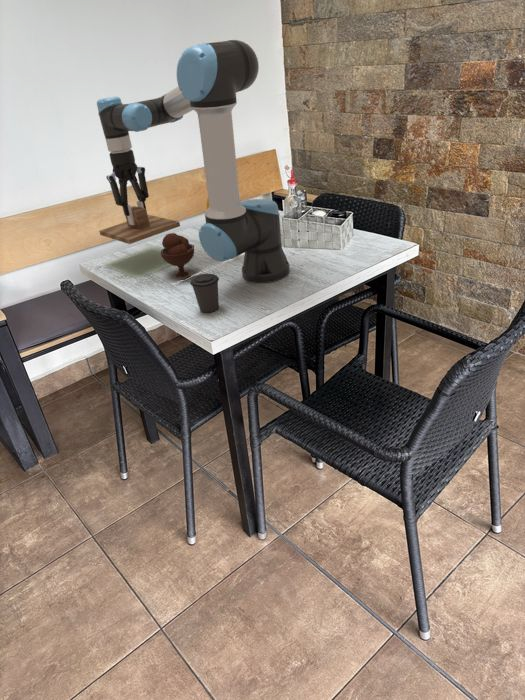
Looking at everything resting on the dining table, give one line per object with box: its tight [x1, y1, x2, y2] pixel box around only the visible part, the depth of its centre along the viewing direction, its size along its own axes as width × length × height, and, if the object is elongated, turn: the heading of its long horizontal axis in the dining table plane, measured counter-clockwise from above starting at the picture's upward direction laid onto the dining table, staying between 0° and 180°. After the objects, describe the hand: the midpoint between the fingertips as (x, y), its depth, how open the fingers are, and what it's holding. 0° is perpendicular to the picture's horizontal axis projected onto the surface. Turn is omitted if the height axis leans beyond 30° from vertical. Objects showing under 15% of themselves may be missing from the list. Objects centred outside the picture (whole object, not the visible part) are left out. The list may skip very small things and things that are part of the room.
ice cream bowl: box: [161, 232, 195, 281], centre depth 170 cm, size 11×11×15 cm
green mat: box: [104, 245, 172, 280], centre depth 188 cm, size 22×22×1 cm
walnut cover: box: [99, 205, 181, 245], centre depth 180 cm, size 20×20×8 cm
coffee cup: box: [189, 273, 220, 315], centre depth 148 cm, size 8×8×10 cm
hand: (138, 222), depth 180 cm, fingers closed on walnut cover, 4 cm apart
